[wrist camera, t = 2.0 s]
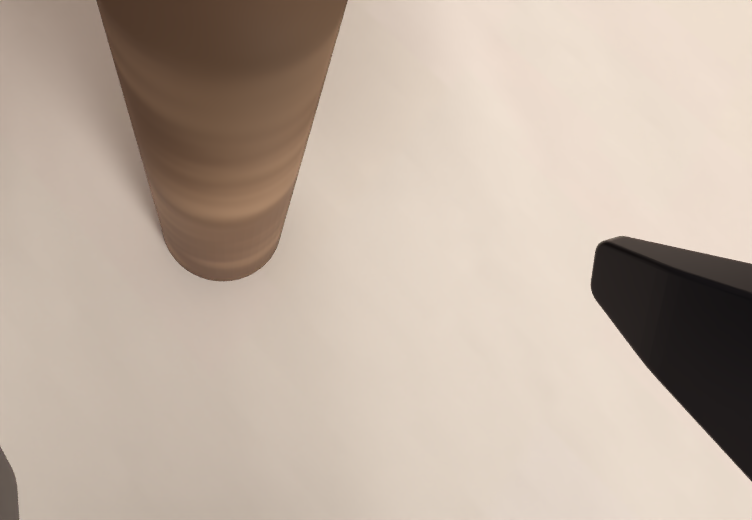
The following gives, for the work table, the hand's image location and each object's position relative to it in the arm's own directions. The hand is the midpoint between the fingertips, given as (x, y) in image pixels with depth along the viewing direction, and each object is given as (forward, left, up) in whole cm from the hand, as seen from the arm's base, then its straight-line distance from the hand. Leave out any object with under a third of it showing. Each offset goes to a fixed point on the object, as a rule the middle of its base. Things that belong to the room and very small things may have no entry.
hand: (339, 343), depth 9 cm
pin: (+6, -2, -13) cm, 14 cm away
